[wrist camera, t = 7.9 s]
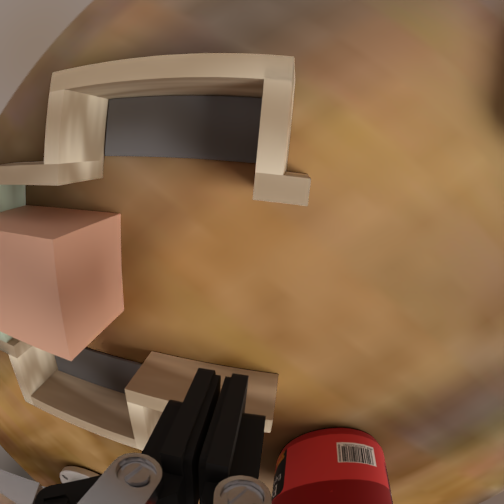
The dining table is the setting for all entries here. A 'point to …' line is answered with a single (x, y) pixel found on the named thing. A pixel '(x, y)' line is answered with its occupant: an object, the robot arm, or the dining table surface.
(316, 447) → the canned food
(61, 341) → the block
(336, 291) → the dining table surface
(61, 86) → the channel
